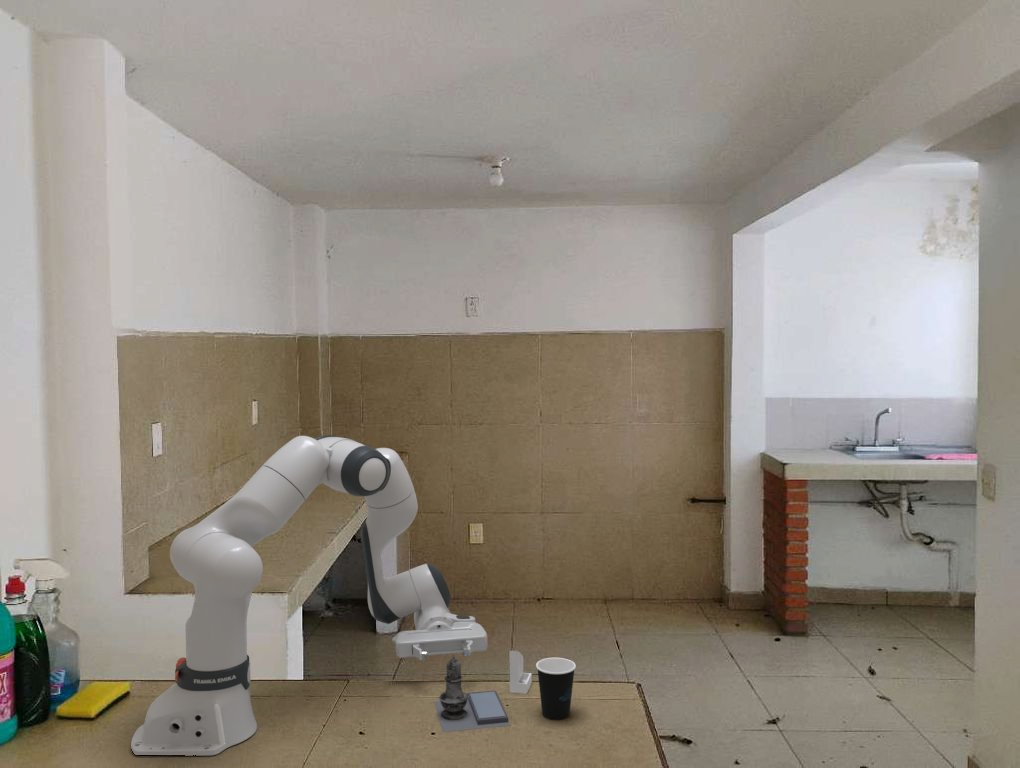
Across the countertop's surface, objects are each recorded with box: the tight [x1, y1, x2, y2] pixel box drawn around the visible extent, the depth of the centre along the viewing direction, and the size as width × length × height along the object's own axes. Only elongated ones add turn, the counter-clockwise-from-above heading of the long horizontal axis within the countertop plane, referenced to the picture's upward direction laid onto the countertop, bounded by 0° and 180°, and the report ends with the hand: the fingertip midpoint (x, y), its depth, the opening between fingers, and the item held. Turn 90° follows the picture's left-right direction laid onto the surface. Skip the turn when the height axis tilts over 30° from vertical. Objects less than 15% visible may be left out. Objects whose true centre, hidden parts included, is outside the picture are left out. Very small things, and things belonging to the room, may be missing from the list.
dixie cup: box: [535, 657, 577, 721], centre depth 169 cm, size 8×8×11 cm
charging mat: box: [433, 699, 511, 733], centre depth 170 cm, size 13×14×1 cm
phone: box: [466, 690, 509, 725], centre depth 172 cm, size 6×13×1 cm, turn 12°
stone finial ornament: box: [438, 654, 469, 720], centre depth 169 cm, size 6×6×12 cm
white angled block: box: [509, 650, 533, 695], centre depth 181 cm, size 4×10×9 cm, turn 168°
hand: (445, 654), depth 181 cm, fingers open, 8 cm apart
